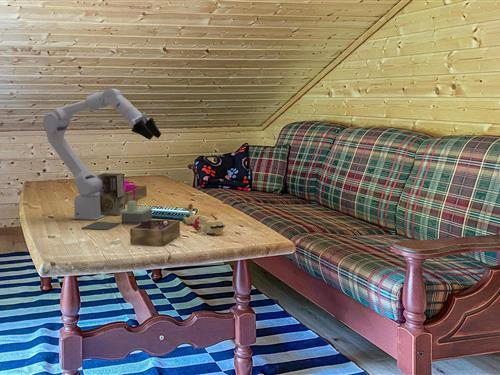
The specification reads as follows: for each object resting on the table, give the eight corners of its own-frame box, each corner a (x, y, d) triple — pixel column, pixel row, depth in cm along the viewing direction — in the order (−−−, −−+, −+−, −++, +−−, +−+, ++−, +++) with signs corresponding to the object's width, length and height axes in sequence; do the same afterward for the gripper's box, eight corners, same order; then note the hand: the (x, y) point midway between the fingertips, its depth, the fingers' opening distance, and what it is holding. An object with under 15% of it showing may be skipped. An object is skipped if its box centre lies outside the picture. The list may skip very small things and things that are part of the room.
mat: (81, 229, 221) (81, 227, 221) (95, 222, 231) (95, 221, 231) (107, 230, 219) (107, 229, 218) (120, 223, 229) (120, 222, 229)
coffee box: (126, 212, 251) (124, 173, 249) (118, 215, 245) (117, 175, 242) (105, 211, 253) (104, 172, 251) (98, 214, 247) (96, 174, 245)
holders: (121, 248, 193) (120, 233, 192) (99, 196, 290) (98, 186, 290) (188, 243, 199) (188, 228, 198) (144, 194, 297) (144, 183, 296)
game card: (140, 221, 202) (168, 219, 204) (140, 223, 207) (167, 222, 209) (141, 241, 201) (169, 240, 203) (141, 243, 206) (168, 241, 208)
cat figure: (177, 228, 228) (206, 236, 206) (176, 204, 227) (205, 210, 206) (201, 225, 233) (232, 232, 211) (200, 202, 232) (231, 207, 211)
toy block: (115, 196, 288) (114, 181, 286) (128, 196, 290) (128, 180, 289) (121, 202, 274) (120, 185, 273) (135, 201, 276) (134, 184, 275)
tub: (121, 223, 230) (121, 212, 229) (132, 218, 240) (132, 208, 239) (141, 224, 228) (141, 213, 228) (151, 218, 238) (151, 208, 237)
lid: (119, 214, 229) (119, 201, 228) (132, 209, 240) (131, 196, 239) (141, 215, 227) (140, 202, 226) (152, 210, 238) (152, 197, 237)
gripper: (127, 105, 222) (154, 130, 221) (143, 103, 236) (169, 127, 235) (116, 119, 224) (142, 144, 223) (132, 117, 238) (158, 141, 237)
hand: (155, 137), depth 229 cm, fingers open, 7 cm apart
